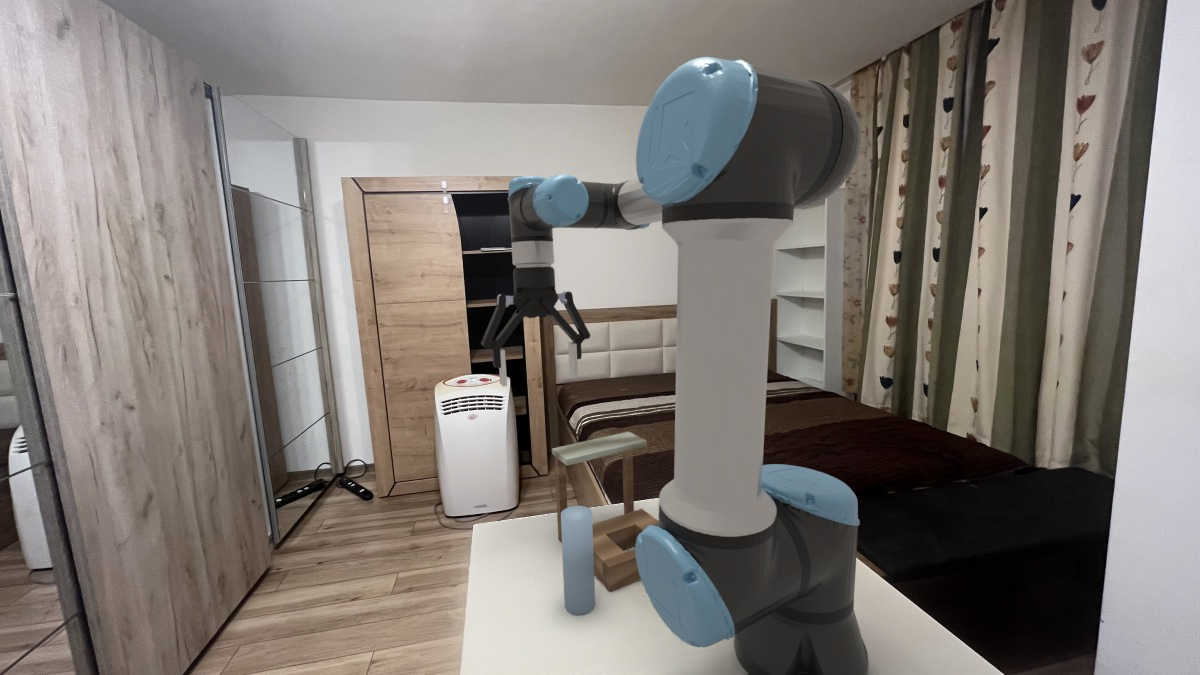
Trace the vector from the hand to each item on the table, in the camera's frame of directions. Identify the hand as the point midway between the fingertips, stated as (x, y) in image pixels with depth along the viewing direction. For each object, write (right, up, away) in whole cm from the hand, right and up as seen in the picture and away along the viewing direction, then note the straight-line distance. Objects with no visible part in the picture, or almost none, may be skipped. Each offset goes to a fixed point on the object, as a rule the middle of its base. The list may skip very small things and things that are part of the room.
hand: (539, 380), depth 89 cm
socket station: (+15, -28, -7) cm, 33 cm away
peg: (+8, -30, -21) cm, 38 cm away
